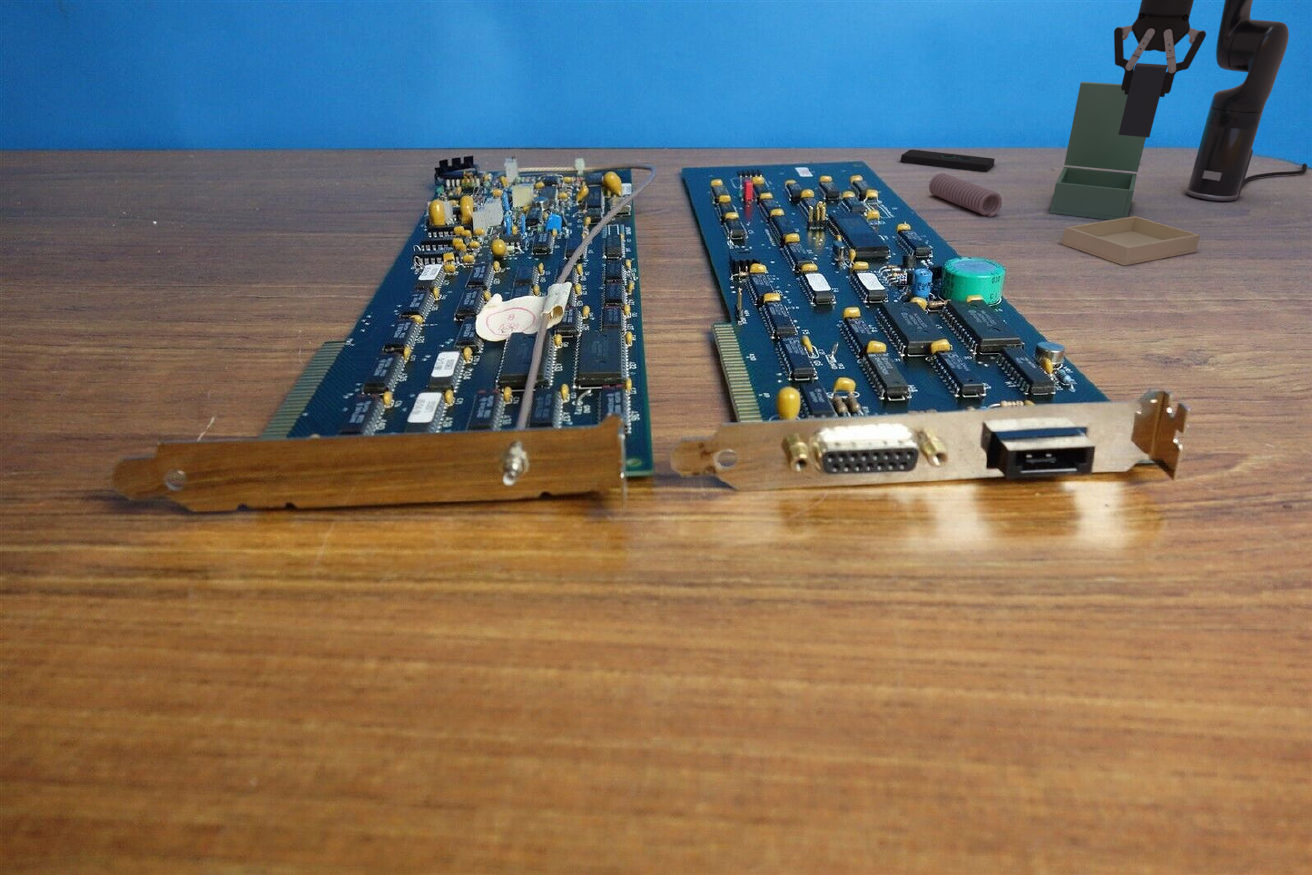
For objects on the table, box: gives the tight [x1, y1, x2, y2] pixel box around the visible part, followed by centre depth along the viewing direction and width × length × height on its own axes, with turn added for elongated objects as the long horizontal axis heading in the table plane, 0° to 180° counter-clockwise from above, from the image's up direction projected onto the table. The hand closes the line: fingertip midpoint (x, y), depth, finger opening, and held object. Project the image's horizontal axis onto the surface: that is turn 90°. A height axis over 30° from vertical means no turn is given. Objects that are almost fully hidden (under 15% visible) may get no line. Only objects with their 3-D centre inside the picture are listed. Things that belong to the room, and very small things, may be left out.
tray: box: [1061, 215, 1201, 266], centre depth 160 cm, size 17×13×3 cm
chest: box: [1049, 166, 1138, 221], centre depth 183 cm, size 16×14×6 cm
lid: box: [1064, 81, 1147, 173], centre depth 184 cm, size 16×14×5 cm
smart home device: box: [900, 149, 996, 173], centre depth 218 cm, size 8×2×20 cm
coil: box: [928, 172, 1003, 218], centre depth 184 cm, size 5×5×18 cm
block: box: [1119, 62, 1168, 139], centre depth 157 cm, size 5×5×11 cm
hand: (1144, 94), depth 157 cm, fingers closed on block, 4 cm apart
